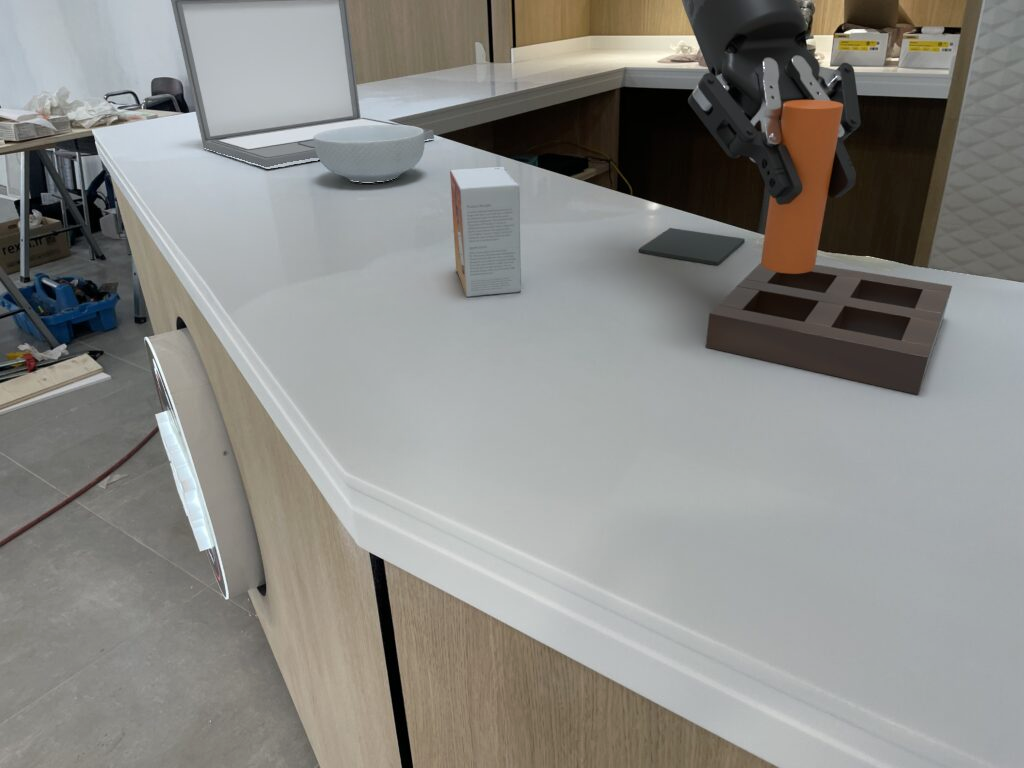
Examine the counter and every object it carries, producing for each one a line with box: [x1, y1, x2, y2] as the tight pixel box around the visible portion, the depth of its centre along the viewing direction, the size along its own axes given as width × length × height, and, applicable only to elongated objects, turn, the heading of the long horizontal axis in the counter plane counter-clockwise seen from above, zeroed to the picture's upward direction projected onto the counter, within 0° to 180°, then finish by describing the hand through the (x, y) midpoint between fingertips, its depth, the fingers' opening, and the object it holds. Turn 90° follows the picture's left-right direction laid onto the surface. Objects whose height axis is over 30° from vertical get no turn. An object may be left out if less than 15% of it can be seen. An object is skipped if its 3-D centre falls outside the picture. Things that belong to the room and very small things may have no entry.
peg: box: [760, 100, 843, 274], centre depth 55 cm, size 4×4×12 cm
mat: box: [638, 227, 746, 266], centre depth 82 cm, size 9×9×1 cm
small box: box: [449, 166, 522, 298], centre depth 71 cm, size 8×6×10 cm
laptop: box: [170, 0, 435, 167], centre depth 135 cm, size 35×28×26 cm
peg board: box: [705, 262, 953, 396], centre depth 61 cm, size 16×16×3 cm
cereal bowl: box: [314, 124, 426, 182], centre depth 114 cm, size 17×17×7 cm
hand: (817, 193), depth 53 cm, fingers closed on peg, 4 cm apart
